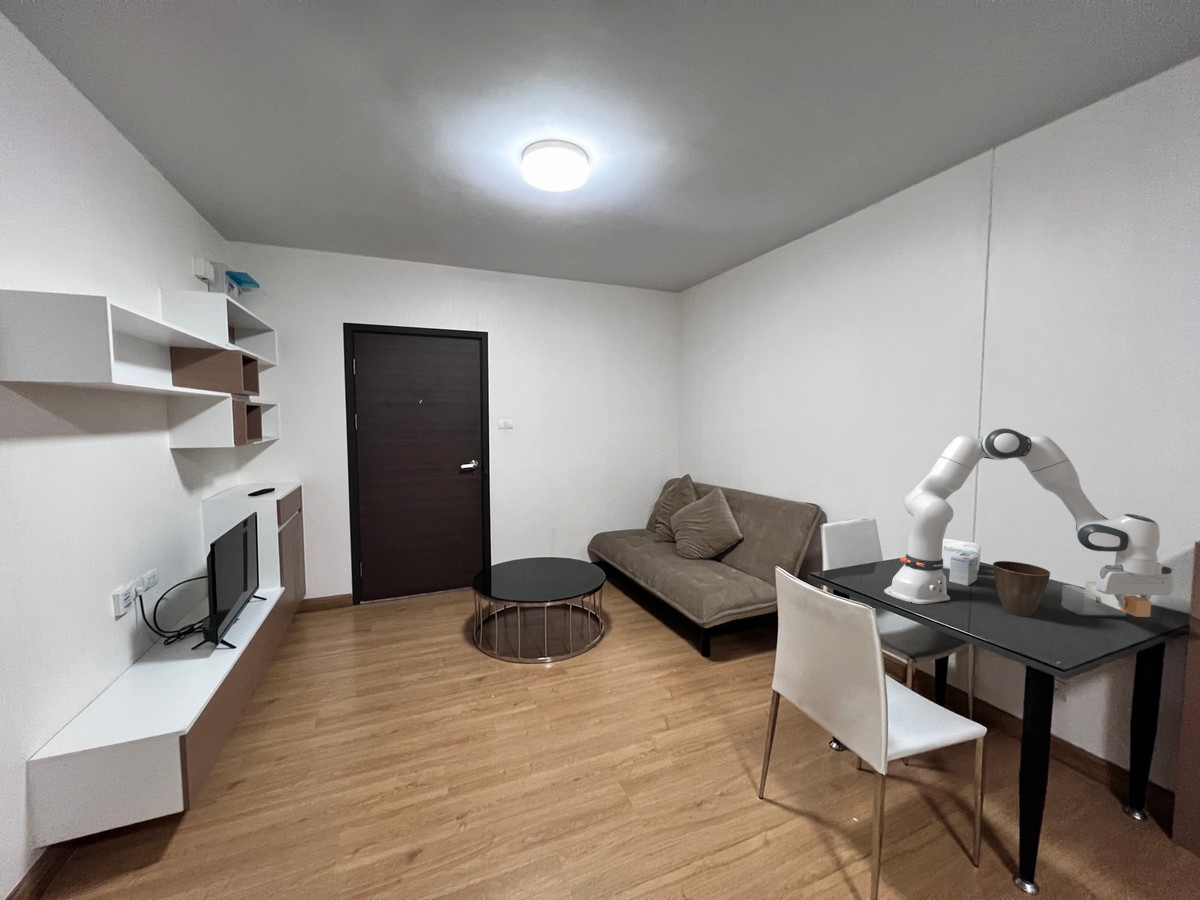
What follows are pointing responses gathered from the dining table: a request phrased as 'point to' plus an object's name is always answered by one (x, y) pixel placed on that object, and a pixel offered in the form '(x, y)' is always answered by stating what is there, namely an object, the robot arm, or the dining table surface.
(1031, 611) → the plant pot
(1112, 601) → the plug
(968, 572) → the light bulb box
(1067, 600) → the housing
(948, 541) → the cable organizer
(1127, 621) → the dining table surface
